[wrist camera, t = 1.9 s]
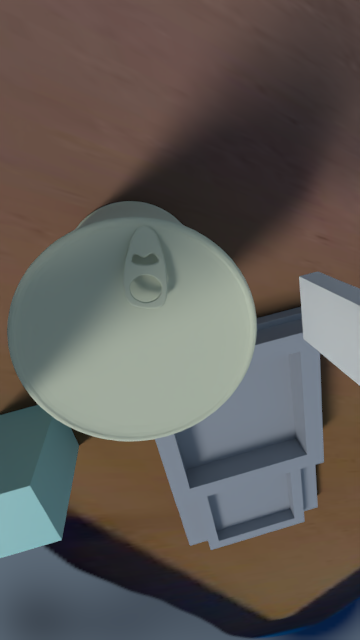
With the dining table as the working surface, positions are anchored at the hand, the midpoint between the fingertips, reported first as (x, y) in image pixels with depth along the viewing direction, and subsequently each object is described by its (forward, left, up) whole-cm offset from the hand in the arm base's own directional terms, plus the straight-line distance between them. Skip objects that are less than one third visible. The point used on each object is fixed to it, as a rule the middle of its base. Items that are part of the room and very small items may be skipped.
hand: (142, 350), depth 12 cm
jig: (+17, +5, -11) cm, 21 cm away
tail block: (+11, -11, -11) cm, 19 cm away
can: (0, 0, -11) cm, 11 cm away
